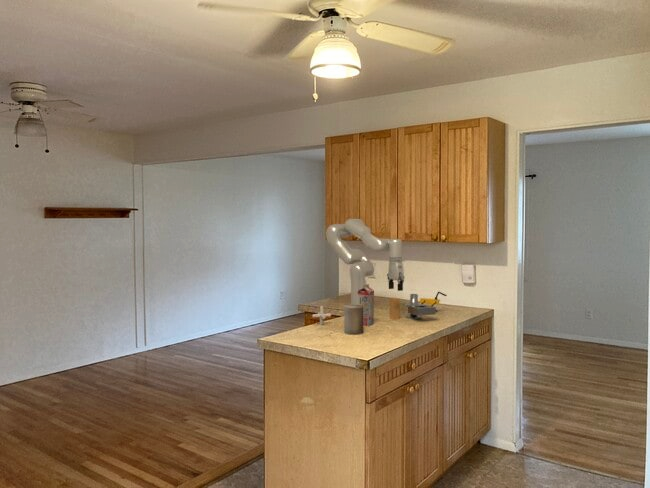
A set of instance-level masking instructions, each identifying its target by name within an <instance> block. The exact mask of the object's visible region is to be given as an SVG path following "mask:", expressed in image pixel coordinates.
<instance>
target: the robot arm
mask: <svg viewBox="0 0 650 488" xmlns="http://www.w3.org/2000/svg"><path fill="white" fill-rule="evenodd" d="M371 232H372V230H371V228H370V227H368V225H366V224H365V222H364V221H363V220H362V219H360V218H348V219H347V220H346V221H345V222H344V223H335V224H330V225H329V226H328V227H327V228H326V231H325V237H326V240H327V242H328V244H329V245H330V247H331V248H332V249H333V250H334V251H335V253H336V254H337V255H338V257H339V258H340V259H341V260H342V262H343V263H344V264H346V265H350V268H349V276H350V305H352V304H353V305H358V291H359V290H361V289H363V285H367V280H366V278H367V277H370V276H372V275H373V274H374V273H375V266H374V264H373V263H372V261H371V260H370V259H369V257H368V256H366V254H365V253H364V252H363V251H362V250H361V249H358V248H351V247H350V246H349V245H348V243H347V242H346V240H345V241H344V240H343V239H342V238H348V237H351V236H355V237H356V238H358V239H359V240H361V241H362V242H363V243H364V245H365V246H366V247H367V248H369V249H371V250H373V251H375V252H388V273H387V274H386V276H387V282H388V289H389V290H393V289H395V282H394V281H397V291H398V292H400V291H401V292H402V291H403V290H404V282H405V275H404V273H405V272H404V263H403V241H402V239H399V238H378V237H377V236H375V235H373V234H372V233H371ZM342 311H344V312H345V308H344V307H343V310H342Z"/></svg>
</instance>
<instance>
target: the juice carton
mask: <svg viewBox="0 0 650 488" xmlns="http://www.w3.org/2000/svg"><path fill="white" fill-rule="evenodd" d="M366 284H367V283H366ZM358 305H363V327H370V326H373V325H374V323H375V321H374V320H375V319H374V317H375V312H374V311H375V290H374V289H373V288H371V287H370V284H369V283H368V284H367V285H363V289H361V290H359V291H358Z"/></svg>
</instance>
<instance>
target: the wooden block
mask: <svg viewBox="0 0 650 488" xmlns="http://www.w3.org/2000/svg"><path fill="white" fill-rule="evenodd" d="M389 319H390V320H399V319H400V297H399V298H398V297H390V298H389Z"/></svg>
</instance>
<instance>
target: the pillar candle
mask: <svg viewBox="0 0 650 488" xmlns="http://www.w3.org/2000/svg"><path fill="white" fill-rule="evenodd" d="M344 308H345V311H344V329H343V330H344V333H345V334H347V335H362V334H363V333H364V326H363V305H353V304H352V305H351V304H346V305H344V307H343V309H344Z"/></svg>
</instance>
